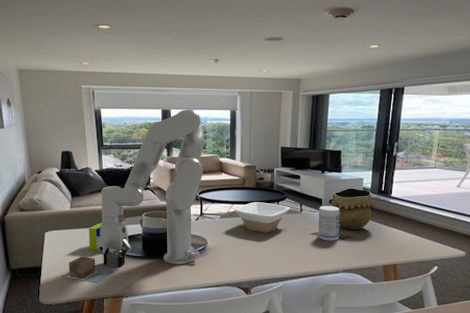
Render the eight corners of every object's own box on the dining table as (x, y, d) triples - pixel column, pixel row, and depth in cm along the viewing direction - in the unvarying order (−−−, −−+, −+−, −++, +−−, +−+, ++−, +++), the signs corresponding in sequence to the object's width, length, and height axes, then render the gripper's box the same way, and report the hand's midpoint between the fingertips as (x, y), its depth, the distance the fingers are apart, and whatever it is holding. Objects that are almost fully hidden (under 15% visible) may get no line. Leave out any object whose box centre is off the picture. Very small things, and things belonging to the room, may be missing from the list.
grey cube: (124, 262, 136) (124, 249, 136) (119, 267, 131) (119, 254, 131) (112, 261, 137) (111, 249, 136) (107, 267, 132) (106, 254, 131)
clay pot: (353, 237, 167) (354, 196, 165) (321, 225, 186) (323, 189, 184) (381, 230, 177) (383, 192, 175) (349, 220, 196) (350, 185, 194)
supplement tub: (340, 241, 161) (341, 210, 159) (320, 241, 161) (321, 210, 160) (336, 234, 170) (337, 205, 169) (316, 234, 171) (317, 205, 170)
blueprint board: (120, 270, 128) (120, 269, 128) (97, 285, 117) (97, 283, 117) (85, 264, 134) (85, 263, 134) (60, 277, 122) (60, 276, 122)
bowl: (230, 230, 178) (230, 209, 177) (255, 219, 198) (255, 201, 197) (270, 239, 164) (271, 217, 163) (293, 226, 184) (293, 206, 183)
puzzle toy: (111, 252, 146) (110, 229, 145) (89, 251, 148) (89, 228, 147) (123, 244, 156) (122, 223, 155) (103, 243, 158) (102, 221, 157)
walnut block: (95, 271, 126) (94, 258, 125) (83, 278, 120) (82, 265, 120) (82, 269, 128) (81, 256, 127) (69, 276, 122) (68, 262, 122)
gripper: (138, 218, 132) (139, 264, 133) (101, 214, 137) (102, 258, 139) (125, 224, 125) (126, 272, 126) (87, 219, 130) (89, 265, 132)
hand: (114, 264), depth 133 cm, fingers closed on grey cube, 5 cm apart
